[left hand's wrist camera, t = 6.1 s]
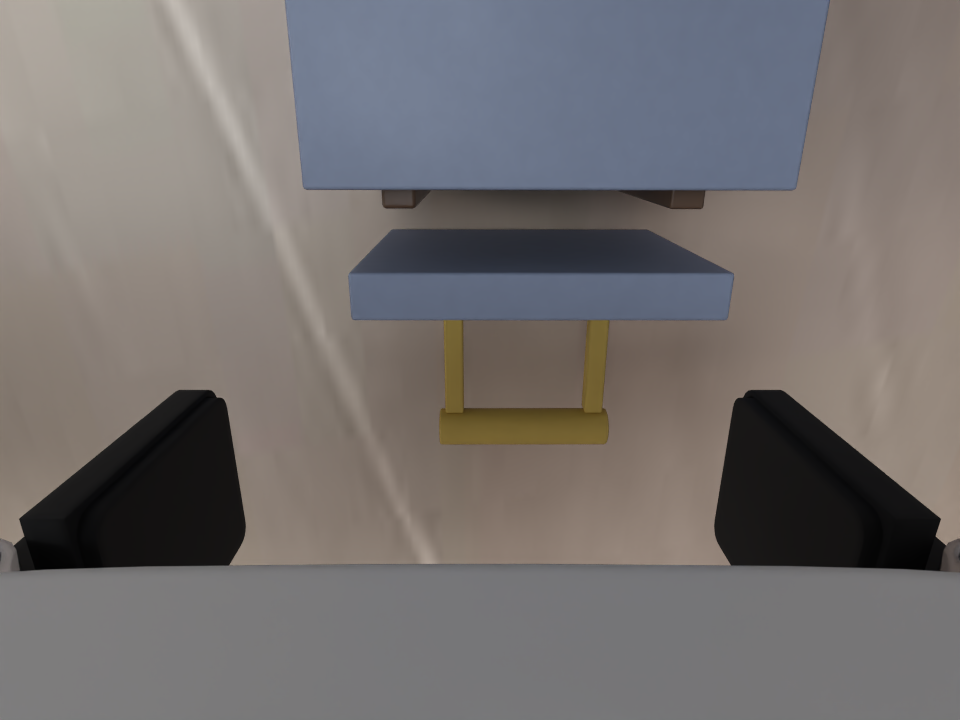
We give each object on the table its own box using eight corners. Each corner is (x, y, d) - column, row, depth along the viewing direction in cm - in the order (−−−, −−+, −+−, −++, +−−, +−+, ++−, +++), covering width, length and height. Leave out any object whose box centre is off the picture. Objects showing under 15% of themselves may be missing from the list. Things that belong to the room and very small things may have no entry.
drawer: (631, 398, 24) (699, 510, 17) (399, 399, 24) (365, 511, 16) (704, -338, 16) (888, -725, 9) (362, -341, 16) (270, -732, 9)
